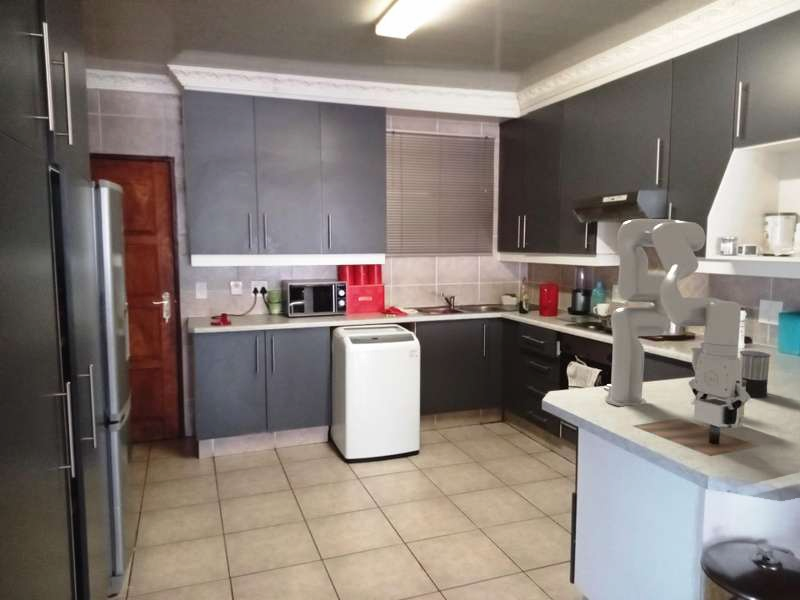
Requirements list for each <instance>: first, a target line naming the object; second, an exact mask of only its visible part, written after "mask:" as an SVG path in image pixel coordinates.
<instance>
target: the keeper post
mask: <svg viewBox="0 0 800 600" xmlns="http://www.w3.org/2000/svg"><path fill="white" fill-rule="evenodd" d="M708 428H709V443H711V444H719V441H720V432H721V427H717V426H714V425H711V424H709V427H708Z"/></svg>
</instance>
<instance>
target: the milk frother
mask: <svg viewBox="0 0 800 600" xmlns="http://www.w3.org/2000/svg"><path fill="white" fill-rule="evenodd" d="M739 353H740V357H739V358H740V363H741V372H742V379H744V380H746V381H747V384H746V392H747V393H748V394H749V395H750V398H755V399H756V398H761V399H762V398H767V397H768V381H769V380H768V379H769V370H770V369H769V368H770V357H771V356H772V355H771V354H770V353H767V352H764V351H757V350H741V351H739Z"/></svg>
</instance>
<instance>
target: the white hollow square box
mask: <svg viewBox="0 0 800 600" xmlns="http://www.w3.org/2000/svg"><path fill="white" fill-rule="evenodd" d="M732 403H733V402H732ZM726 409H728V406H727V403H726V401H725V400H722V399H719V398H715V397H712V398H705V399H698V400H695V405H694V411H693V419H694V420H696V421H699V422H703V423H705V424H709V425H710V424H711V425H714V426H717V427H720V428H723V427H722V426H728V425H726V424H725V414H726ZM738 420H739V409H737V420H736V423H735V424H738ZM731 425H734V424H731Z"/></svg>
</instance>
